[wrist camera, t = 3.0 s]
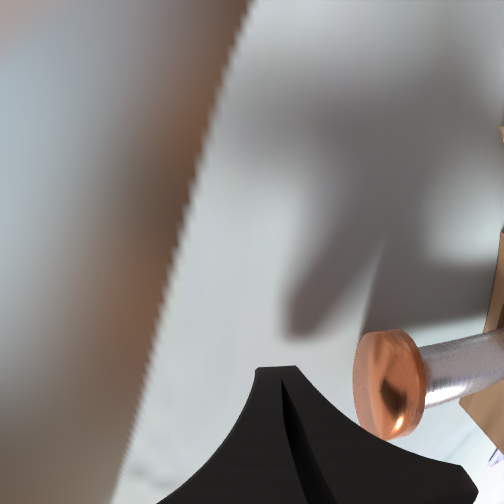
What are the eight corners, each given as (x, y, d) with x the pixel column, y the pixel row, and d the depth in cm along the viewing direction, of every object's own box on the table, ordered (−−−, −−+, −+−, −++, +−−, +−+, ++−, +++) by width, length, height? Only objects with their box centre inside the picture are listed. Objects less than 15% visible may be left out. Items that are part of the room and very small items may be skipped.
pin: (537, 288, 11) (584, 310, 7) (520, 351, 12) (560, 380, 8) (360, 314, 11) (410, 371, 7) (347, 398, 11) (378, 464, 7)
